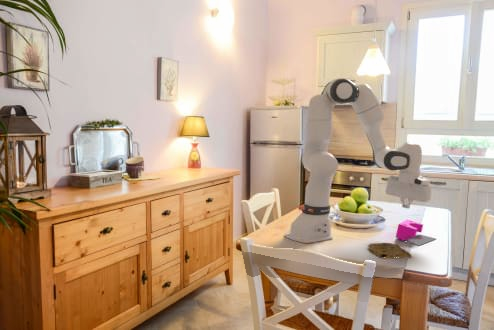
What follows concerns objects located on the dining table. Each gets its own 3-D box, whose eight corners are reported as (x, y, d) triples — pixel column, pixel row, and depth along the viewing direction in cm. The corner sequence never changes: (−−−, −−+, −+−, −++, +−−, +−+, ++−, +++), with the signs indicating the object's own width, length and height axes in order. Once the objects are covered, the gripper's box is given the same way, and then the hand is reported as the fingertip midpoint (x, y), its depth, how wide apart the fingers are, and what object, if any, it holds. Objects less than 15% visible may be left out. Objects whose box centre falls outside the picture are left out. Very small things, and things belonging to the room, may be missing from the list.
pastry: (361, 254, 161) (361, 247, 160) (374, 243, 175) (374, 237, 175) (406, 264, 151) (407, 257, 151) (415, 252, 165) (416, 245, 165)
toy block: (395, 237, 180) (412, 242, 175) (398, 224, 179) (415, 229, 174) (404, 231, 192) (420, 236, 188) (407, 219, 191) (423, 224, 187)
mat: (418, 246, 172) (419, 245, 172) (401, 241, 178) (401, 240, 178) (436, 239, 182) (436, 238, 182) (419, 234, 188) (419, 234, 188)
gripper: (384, 175, 188) (381, 203, 189) (427, 182, 172) (423, 213, 174) (391, 174, 192) (388, 202, 193) (434, 181, 176) (430, 211, 178)
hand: (405, 207), depth 184 cm, fingers closed
